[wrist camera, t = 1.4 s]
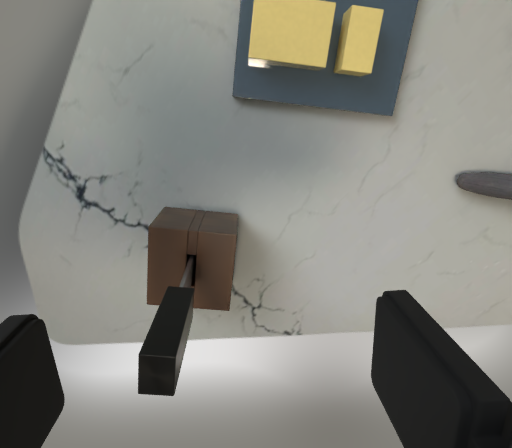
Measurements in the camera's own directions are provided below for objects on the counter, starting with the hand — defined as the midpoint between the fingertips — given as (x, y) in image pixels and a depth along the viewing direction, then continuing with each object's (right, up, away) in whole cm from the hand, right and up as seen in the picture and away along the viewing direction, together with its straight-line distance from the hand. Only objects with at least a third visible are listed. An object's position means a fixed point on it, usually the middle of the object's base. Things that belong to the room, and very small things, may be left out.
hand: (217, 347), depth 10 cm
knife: (-5, +1, +24) cm, 25 cm away
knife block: (-5, +1, +24) cm, 25 cm away
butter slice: (+9, +18, +19) cm, 27 cm away
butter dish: (+7, +19, +19) cm, 28 cm away
